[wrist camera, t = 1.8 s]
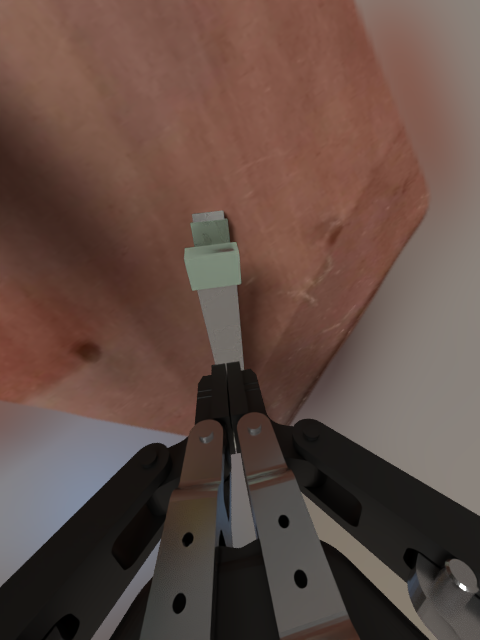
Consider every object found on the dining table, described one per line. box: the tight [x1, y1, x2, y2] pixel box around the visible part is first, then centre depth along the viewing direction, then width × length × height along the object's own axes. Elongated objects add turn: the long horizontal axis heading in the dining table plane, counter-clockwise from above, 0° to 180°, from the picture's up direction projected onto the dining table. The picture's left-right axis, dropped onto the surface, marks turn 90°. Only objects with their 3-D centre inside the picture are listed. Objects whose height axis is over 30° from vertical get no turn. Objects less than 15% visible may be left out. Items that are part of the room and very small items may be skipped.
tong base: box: [190, 211, 230, 247], centre depth 29 cm, size 31×4×3 cm, turn 6°
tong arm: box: [184, 242, 244, 371], centre depth 23 cm, size 20×4×2 cm, turn 6°
